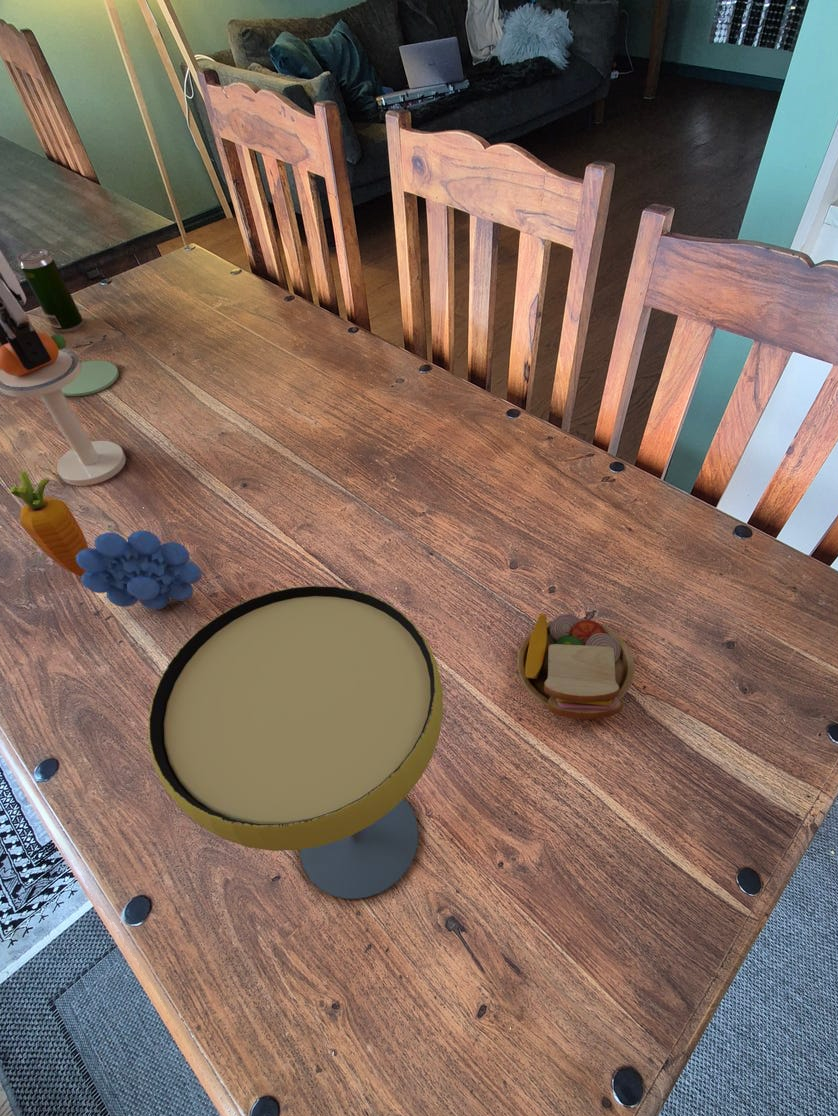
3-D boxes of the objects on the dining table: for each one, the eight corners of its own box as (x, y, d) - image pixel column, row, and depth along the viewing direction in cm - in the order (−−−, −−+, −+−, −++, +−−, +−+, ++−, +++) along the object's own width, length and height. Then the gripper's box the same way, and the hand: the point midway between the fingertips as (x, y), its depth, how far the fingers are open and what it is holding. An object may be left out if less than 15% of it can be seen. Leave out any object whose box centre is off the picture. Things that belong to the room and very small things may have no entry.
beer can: (74, 334, 118) (37, 263, 108) (47, 332, 118) (8, 261, 109) (90, 320, 121) (56, 249, 111) (64, 317, 122) (27, 247, 112)
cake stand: (43, 468, 95) (-22, 370, 83) (107, 435, 99) (54, 338, 87) (77, 498, 90) (14, 399, 79) (142, 463, 95) (92, 365, 83)
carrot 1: (13, 386, 81) (1, 363, 78) (-4, 368, 82) (-17, 344, 78) (77, 359, 85) (68, 336, 82) (60, 342, 85) (50, 318, 82)
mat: (43, 381, 109) (41, 378, 108) (99, 356, 113) (98, 353, 113) (73, 403, 104) (71, 401, 104) (130, 377, 109) (128, 374, 108)
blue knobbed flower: (113, 648, 75) (57, 576, 65) (109, 606, 78) (56, 532, 69) (217, 617, 77) (178, 543, 68) (208, 578, 81) (170, 502, 71)
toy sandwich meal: (637, 634, 75) (644, 607, 71) (626, 737, 67) (634, 712, 63) (528, 616, 76) (530, 588, 73) (504, 714, 68) (505, 689, 65)
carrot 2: (76, 562, 83) (7, 464, 71) (115, 562, 83) (52, 464, 71) (60, 591, 80) (-16, 494, 68) (100, 592, 80) (31, 495, 68)
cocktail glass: (240, 945, 55) (98, 833, 35) (279, 751, 66) (188, 583, 46) (456, 943, 55) (435, 830, 35) (459, 749, 66) (445, 580, 46)
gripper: (-139, 180, 69) (-29, 348, 84) (-76, 221, 62) (32, 396, 77) (-65, 160, 72) (29, 325, 87) (2, 197, 66) (92, 369, 80)
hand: (29, 357), depth 82 cm, fingers closed on carrot 1, 3 cm apart
